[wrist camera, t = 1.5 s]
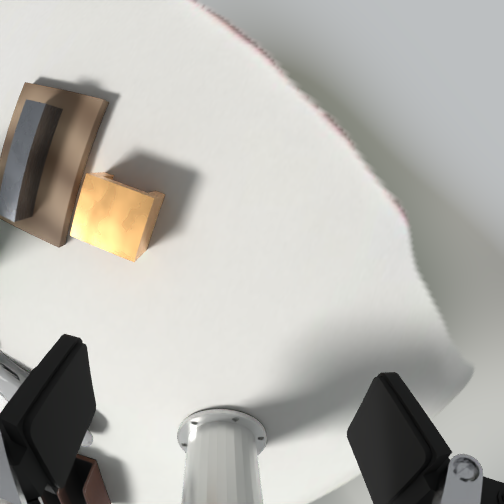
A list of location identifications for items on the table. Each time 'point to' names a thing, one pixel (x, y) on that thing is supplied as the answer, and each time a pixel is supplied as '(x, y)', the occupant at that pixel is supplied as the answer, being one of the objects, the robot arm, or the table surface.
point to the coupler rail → (27, 159)
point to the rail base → (58, 159)
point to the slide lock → (115, 216)
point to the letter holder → (80, 485)
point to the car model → (10, 383)
